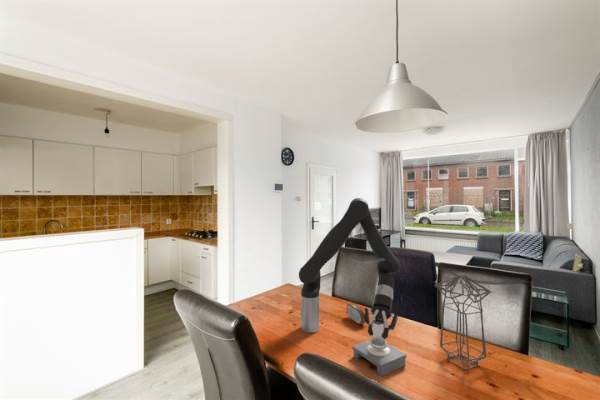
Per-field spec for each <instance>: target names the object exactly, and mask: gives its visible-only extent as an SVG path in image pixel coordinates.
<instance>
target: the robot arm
mask: <svg viewBox="0 0 600 400" xmlns="http://www.w3.org/2000/svg"><path fill="white" fill-rule="evenodd" d="M358 225H360V226H361V228H362V230H363V232H364V235H365V237H366V239H367V240H366V241H367V242H368V244H369V247H370V249H371V250H372V253H373V254H374V256H375V257H376V258H382V259H380V260H379V261H378V263H377V266H376V267H377V269H376V270H377V274H378V275H377V277H378V280H377V287H376V289H375V294H374V300H373V304H372V307H371V309H370V308H369V309H368V308H364V314H365V324H366V325H367V326H368V328H367V333H368V335H369V336H371V337H372V321H374V320H380V321H383V322H384V323H385V329H384V335H383V338H384V339H385V340H387V339H388V338H389V332H390V330H391V331H394V330H395V328H396V324H397V322H398V319H399V316H398V314H397V313H393V312H392V308H393V307H392V306H393V301H394V288H395V287H394V286H395V278H394V277H393V276H392V275H389V274H395V273H398V272H400V270H401V268H402V267H401V263H400V261H399V259H398V258H397V256H395V254H394V253H393V252H392V250H390V249H389V247H388V245H387V243H386V242H385V240H384V238H383V236H382V234H381V233H380V231H379V229H378V228H377V226H376V223H375V221H374V220H373V218H372V214H371V212H370V207H369V204H368V201H367V200H365V199H364V198H361V197H357V198H354V199H352V200H351V201H350V203H349V205H348V207H347V210H346V212H345V213H344V215H343V216H342V218H340V221H338V223H336V224H335V225H334V226H333V227H332V228H331V229H330V231H329V232H327V234H326V236H324V237H323V240H321V242H320V243H319V245H318V246H317V248H316V249H315V252H313V254H312V256H311V257H310V258H309V259H308V260H307V262H306V263H304V265H303V266H301V268H300V269H299V272H298V279H299V281H300V282H301V283H302V284H303V285H302V287H301V290H300V295H301V297H300V298H301V303H300V304H301V306H300V307H301V308H300V327H301V331H303V332H304V333H311V334H313V333H317V332H318V331H320V291H321V276H322V275H321V270H322V268H323V267H324V266H325V265H326V264H327V263H328V262H329V261H330V260H331V259H332V258H333V257H335V255H336V254H337V253H338V252H339V251H340V249H341V248H342V247H343V246H344V244H345V243H346V242H347V240H348V238H349V237H350V235H351V233H352V232H353V231H354V229H355V228H356V227H357V226H358ZM371 314H372V316H371V319H370V315H371ZM390 318H391V319H392V320H391V322H390V324H389V321H388V320H389V319H390Z"/></svg>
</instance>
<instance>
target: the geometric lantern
mask: <svg viewBox="0 0 600 400" xmlns="http://www.w3.org/2000/svg"><path fill="white" fill-rule="evenodd" d="M445 283H446V284H445ZM457 284H460V285H461V293H460V292H456V291H455V292H454V289H455V287H456V286H457ZM434 287H435V288H437V289H438V291H440V293H442V295H443V296H444V297H443V302H442V304H441V306H442V309H441V329H440V339H439V347H440V348H441V349H442V351H444V352H445V353H446V355H447V358H446V359H447V360H448V361H449V362H450V363H452V364H453V365H455V366H458V367H459V368H460V369H462V370H464V371H465V370H470V369H473V368H475V367H478V366H479V361H481V360H484V359H486V358H487V349H486V341H485V340H486V339H485V329H484V322H483V321H484V319H483V318H484V317H483V315H484V314H483V306H482V300H483V299H485V298H486V297H487V296H488V295H489V294H492V293H493V292H492V291H491V290H490V289H488V288H487V287H485V286H484V285H481V284H480V283H478V282H476V281H475V280H473V279H472V278H470V277H468V276H467V275H465V274H458V275H457V276H456V275H455V276H453V277H451V278H448V279H446V280H443V281H441V282H438V283H435V284H434ZM478 287H480V288H478ZM449 288H450V289H449ZM465 290H466V292H467V295H466V294H465ZM481 291H483V292H482V293H480V292H481ZM474 292H475V293H474ZM447 293H449V296H447ZM454 294H455V295H454ZM462 296H464V297H466V299H465V300H463V302H460V301H459V300H458V299H457V298H458V297H462ZM471 296H472V297H474V298H472V297H471ZM478 298H479V299H478ZM447 299H450V300H452V302H446V300H447ZM473 299H474V300H473ZM468 300H471V302H470V304H467V303H466V302H467V301H468ZM452 304H454V305H455V306H456V308H457V310H456V309H453V308H451V307H449V306H446V305H452ZM472 304H477V307H476V306H473V305H472ZM460 305H462V310H461V309H460ZM465 306H467V307H466V309H465ZM469 307H471V308H474V309H477V310H479V311H475V312H474V311H473V312H468V313H466V311H467V310H468V309H469ZM445 308H447V309H450V310H452V311H454V312H456V314H457V315H456V330H455V332H456V335H455V341H450V342H449V341H448V342H444V343H443V340H444V339H443V335H444V334H443V333H444V316H445ZM472 314H480V321H481V322H480V323H481V325H480V326H481V342H482V350H480V349H478V348H476V347H474V346H472V345H470V344H469V334H468V317H467V316H468V315H472ZM458 333H459V334H458ZM458 335H459V337H458ZM465 337H466V338H465ZM458 338H459V340H458ZM465 339H466V342H465ZM454 343H456V346H457V350H454V351H449V350H448V349H446V348H445V347H443V346H445V345H450V344H454ZM458 343H459V345H458ZM464 345H466V350H467V351H466V352H465V351H463V348H464ZM469 348H471V349H473V350H476V351H478V352H479V353H481V354H480V355H478V356H477V357H475V356H474V355H471V354H470V349H469ZM454 353H457V354H454ZM463 353H464V354H465V355H467V356H465V355H463ZM462 357H463V358H462ZM470 357H472V358H470ZM450 359H454V360H456V361H458V362H459V363H462V364H463V367H462V366H461V365H459V364H457V363H456V362H454V361H452V360H450ZM464 361H466V362H464ZM471 363H475V365H473V366H470V367H468V365H469V364H471ZM465 366H466V368H465Z"/></svg>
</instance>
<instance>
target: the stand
mask: <svg viewBox="0 0 600 400" xmlns="http://www.w3.org/2000/svg"><path fill="white" fill-rule="evenodd" d="M371 340H372V338H371V339H369V340H365V341H362V342H359V343H357V344H353V345H352V346H351V347H352V351H353V356H354V358H355V359H357V360H358V359H360V358H362V357H363V358H364V359H366V361H367V360H368V362H369V363H372V364H373V365H374V366H376V372H377V374H378V375H380V376H382V377H383V376H385V375H388V374H389V373H392V372H394V371H397V370H398V369H400V368H402V367H405V366H406V359H407V354H406V353H405V352H403V351H401V350H400V349H397V348H396V347H394V346H392V345H390V344H388V343H387V347H386V348H385V349H376V348H373V347H372V346H371V345H370V341H371Z"/></svg>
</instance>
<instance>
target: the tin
mask: <svg viewBox="0 0 600 400" xmlns="http://www.w3.org/2000/svg"><path fill="white" fill-rule="evenodd" d="M346 312H347V313H346V314H347V315H348V317H349V319H350V320H352V321H353V322H354V323H356V324H357V325H364V324H366V322H365V311H364V310H363V309H362V308H361V307H360V306H358V305H357V304H355V303H353V302H350V303H348V304H347V305H346Z"/></svg>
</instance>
